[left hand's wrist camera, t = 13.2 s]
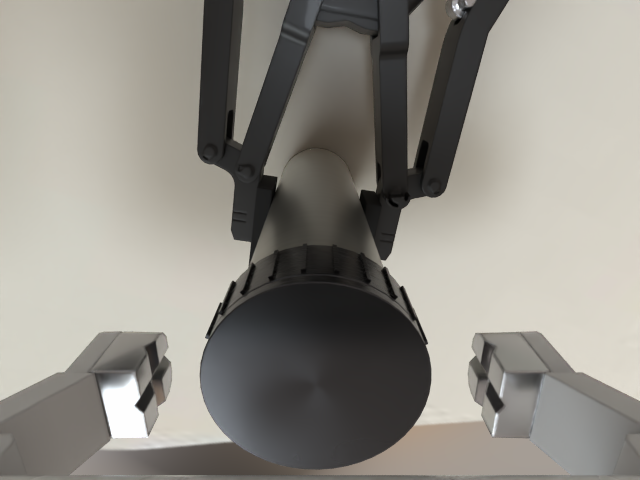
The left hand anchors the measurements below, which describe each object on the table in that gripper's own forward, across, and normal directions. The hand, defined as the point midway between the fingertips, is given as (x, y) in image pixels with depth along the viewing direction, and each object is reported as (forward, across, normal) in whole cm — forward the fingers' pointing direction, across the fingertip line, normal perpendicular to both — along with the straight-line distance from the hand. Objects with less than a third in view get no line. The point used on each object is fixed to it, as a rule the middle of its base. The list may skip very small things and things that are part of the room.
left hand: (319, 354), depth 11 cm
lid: (-1, 0, 0) cm, 1 cm away
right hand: (+12, -1, -5) cm, 13 cm away
